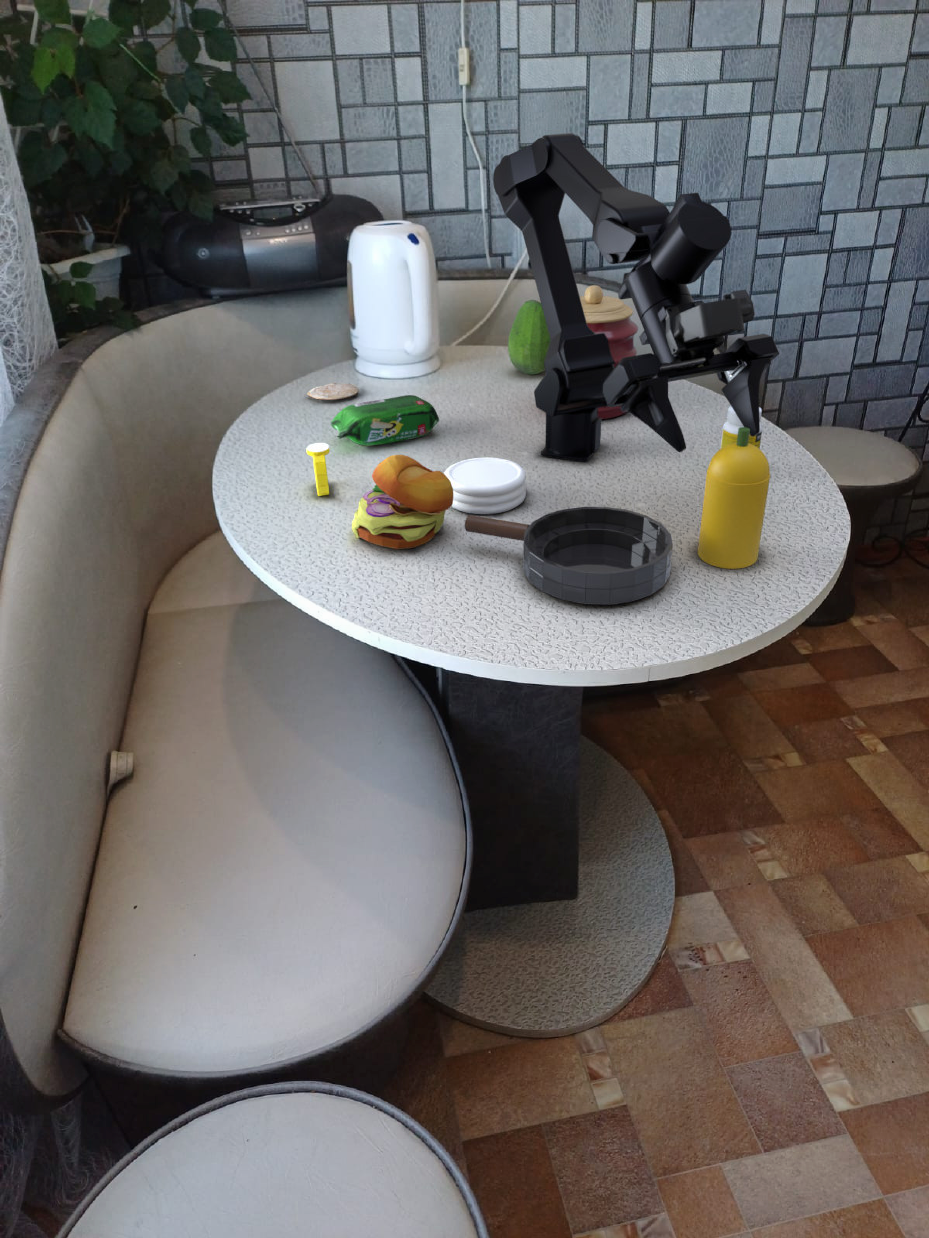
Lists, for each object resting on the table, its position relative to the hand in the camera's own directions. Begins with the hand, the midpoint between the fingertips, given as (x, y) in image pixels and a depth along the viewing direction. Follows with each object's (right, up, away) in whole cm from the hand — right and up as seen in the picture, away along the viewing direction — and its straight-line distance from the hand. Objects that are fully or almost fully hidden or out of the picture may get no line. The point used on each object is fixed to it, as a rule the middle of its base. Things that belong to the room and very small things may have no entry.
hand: (719, 442), depth 96 cm
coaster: (-24, -4, +18) cm, 30 cm away
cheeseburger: (-33, -9, +10) cm, 36 cm away
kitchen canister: (-8, +14, +45) cm, 47 cm away
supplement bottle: (+8, 0, +22) cm, 23 cm away
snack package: (-37, +7, +36) cm, 52 cm away
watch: (-44, -2, +21) cm, 49 cm away
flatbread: (-47, +17, +53) cm, 73 cm away
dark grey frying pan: (-13, -13, +1) cm, 18 cm away
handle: (-23, -9, +4) cm, 25 cm away
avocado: (-15, +23, +60) cm, 66 cm away
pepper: (+2, -11, +3) cm, 12 cm away
